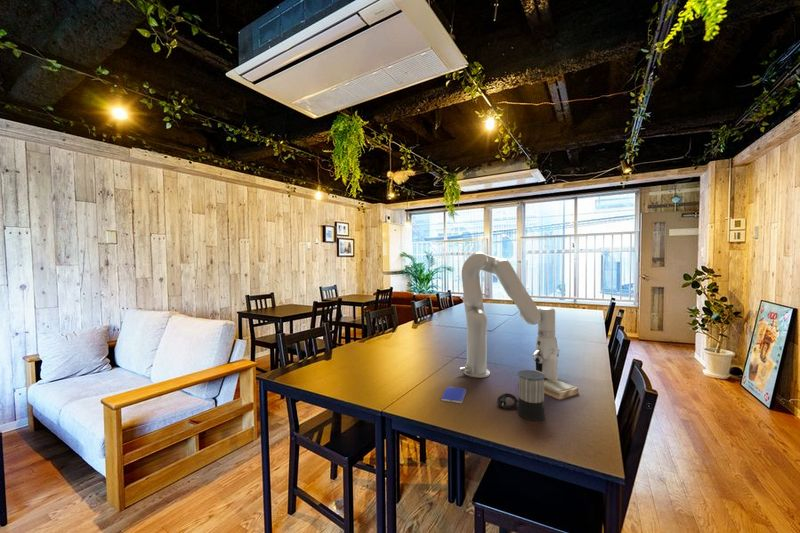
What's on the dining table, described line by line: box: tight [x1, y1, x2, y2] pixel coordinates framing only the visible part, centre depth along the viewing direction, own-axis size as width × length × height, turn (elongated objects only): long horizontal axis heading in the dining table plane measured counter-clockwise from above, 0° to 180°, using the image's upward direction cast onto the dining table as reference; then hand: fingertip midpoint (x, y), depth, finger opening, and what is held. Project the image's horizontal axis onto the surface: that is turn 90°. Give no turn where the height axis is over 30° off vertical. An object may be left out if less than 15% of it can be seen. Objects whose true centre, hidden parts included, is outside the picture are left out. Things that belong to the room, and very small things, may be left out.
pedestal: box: [544, 378, 579, 400], centre depth 135 cm, size 12×12×3 cm
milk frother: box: [496, 369, 546, 422], centre depth 118 cm, size 14×16×15 cm
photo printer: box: [534, 354, 559, 380], centre depth 151 cm, size 10×4×12 cm, turn 39°
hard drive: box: [440, 385, 467, 404], centre depth 132 cm, size 2×8×12 cm
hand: (546, 369), depth 151 cm, fingers open, 9 cm apart
